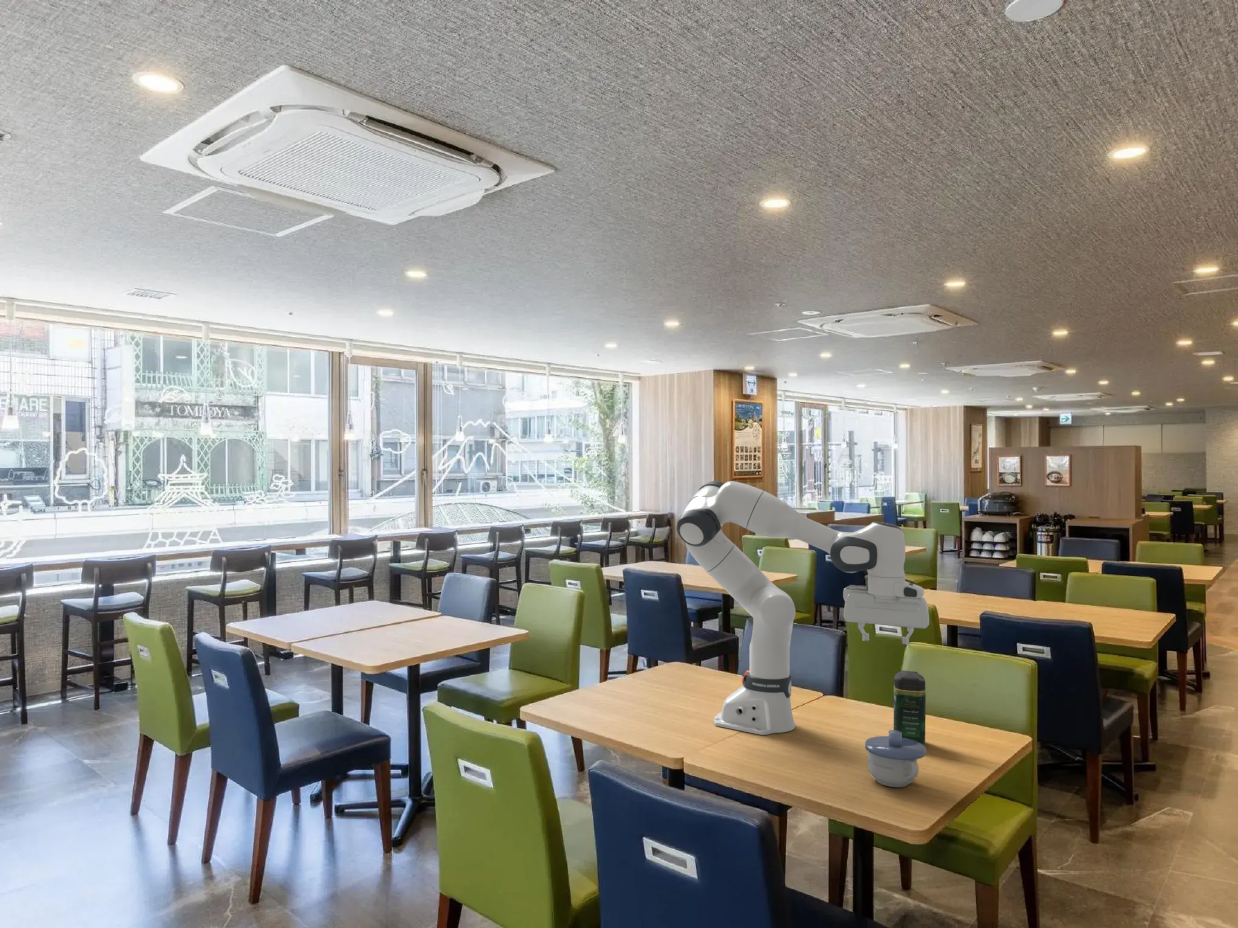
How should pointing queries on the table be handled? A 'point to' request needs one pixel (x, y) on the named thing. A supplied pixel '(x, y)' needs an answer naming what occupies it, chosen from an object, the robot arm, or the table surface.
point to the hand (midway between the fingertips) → (885, 642)
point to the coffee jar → (910, 705)
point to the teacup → (892, 770)
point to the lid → (895, 747)
